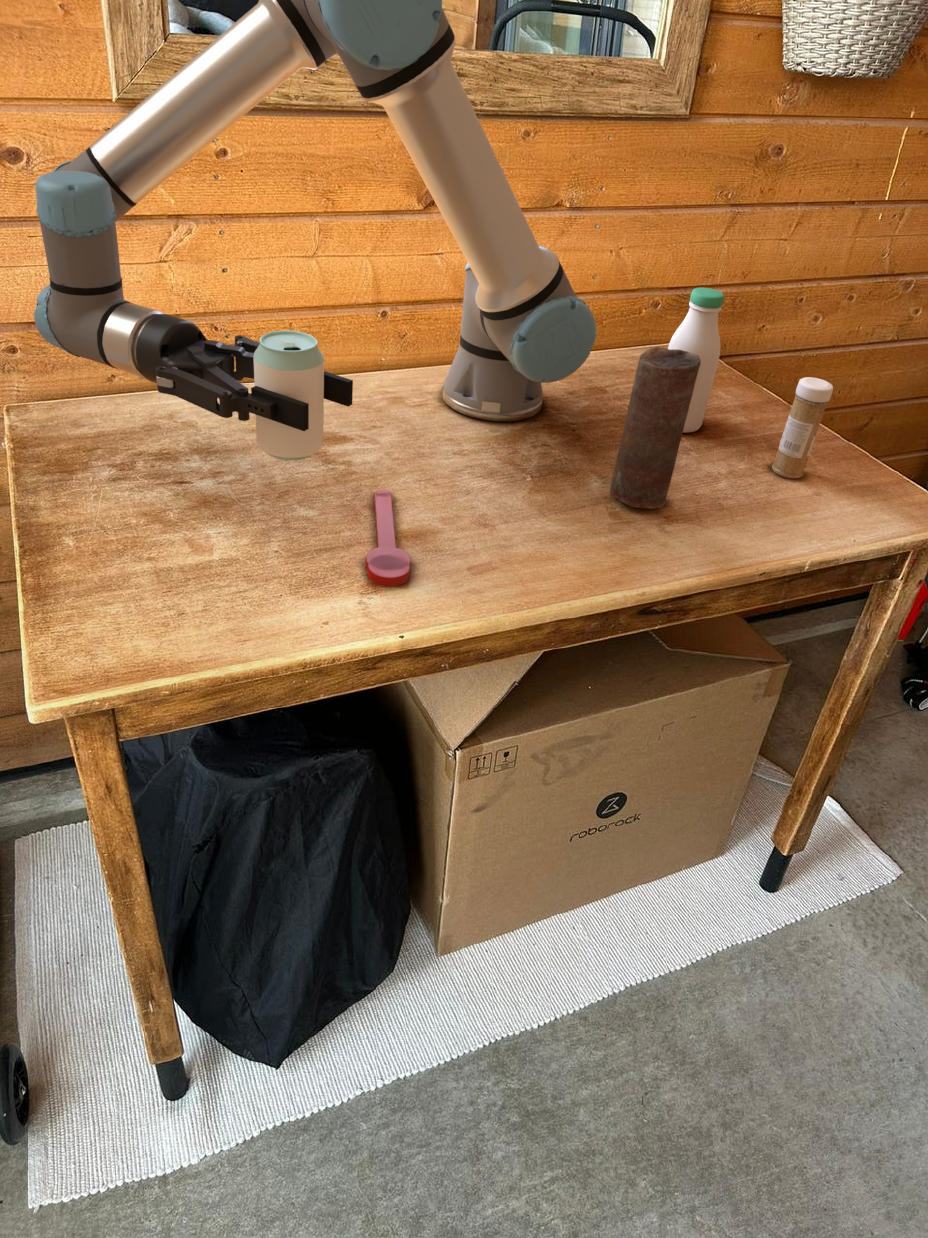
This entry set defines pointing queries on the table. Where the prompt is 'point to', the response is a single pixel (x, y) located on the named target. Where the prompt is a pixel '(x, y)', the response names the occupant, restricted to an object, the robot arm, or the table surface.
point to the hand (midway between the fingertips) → (328, 405)
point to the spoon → (386, 547)
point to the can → (291, 392)
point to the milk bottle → (700, 348)
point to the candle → (654, 426)
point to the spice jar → (802, 427)
